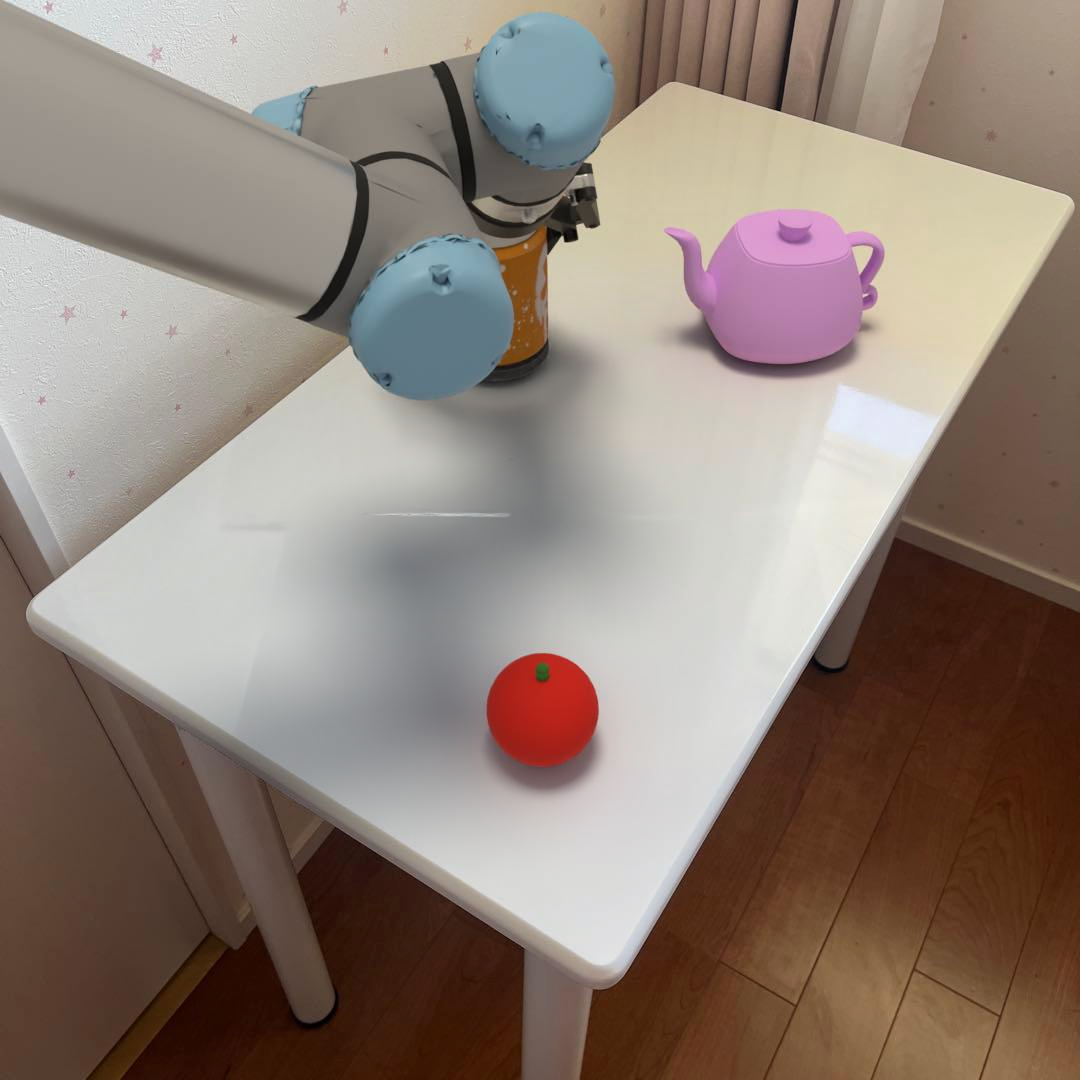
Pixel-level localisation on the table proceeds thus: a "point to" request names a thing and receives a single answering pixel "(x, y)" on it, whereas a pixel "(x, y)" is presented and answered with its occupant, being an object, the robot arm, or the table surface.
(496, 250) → the canister
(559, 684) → the tomato
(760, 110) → the table surface
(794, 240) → the teapot
